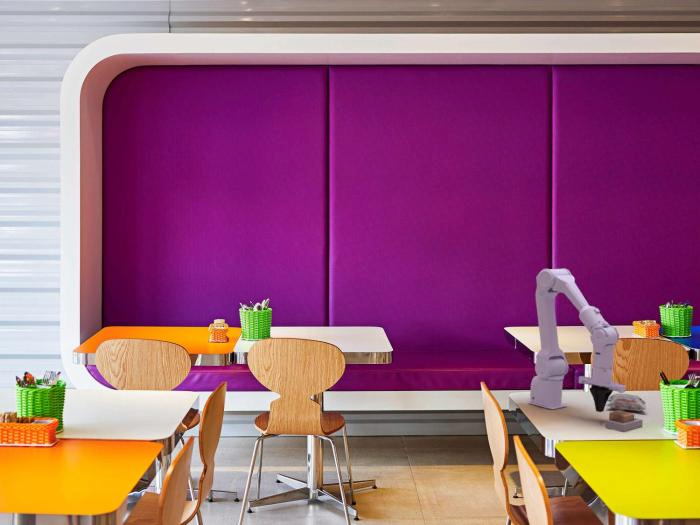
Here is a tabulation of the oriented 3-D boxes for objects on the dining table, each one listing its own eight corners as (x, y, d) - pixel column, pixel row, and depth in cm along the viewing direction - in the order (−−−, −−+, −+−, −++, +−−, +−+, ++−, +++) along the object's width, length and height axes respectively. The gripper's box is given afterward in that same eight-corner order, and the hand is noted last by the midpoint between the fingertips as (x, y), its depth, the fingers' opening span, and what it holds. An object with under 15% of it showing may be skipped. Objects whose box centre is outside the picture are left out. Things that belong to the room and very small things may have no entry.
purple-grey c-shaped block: (604, 426, 223) (605, 420, 223) (623, 421, 230) (624, 415, 230) (623, 431, 218) (623, 425, 218) (642, 426, 225) (642, 419, 225)
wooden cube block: (608, 425, 225) (609, 412, 225) (618, 423, 228) (618, 410, 228) (624, 430, 221) (624, 416, 221) (633, 427, 224) (634, 414, 224)
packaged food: (645, 415, 238) (646, 400, 238) (605, 410, 242) (606, 395, 242) (645, 409, 246) (646, 394, 246) (606, 405, 251) (607, 390, 250)
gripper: (632, 369, 226) (628, 415, 227) (589, 361, 237) (586, 404, 238) (619, 372, 222) (616, 418, 223) (575, 363, 233) (573, 407, 234)
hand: (599, 411), depth 230 cm, fingers closed
